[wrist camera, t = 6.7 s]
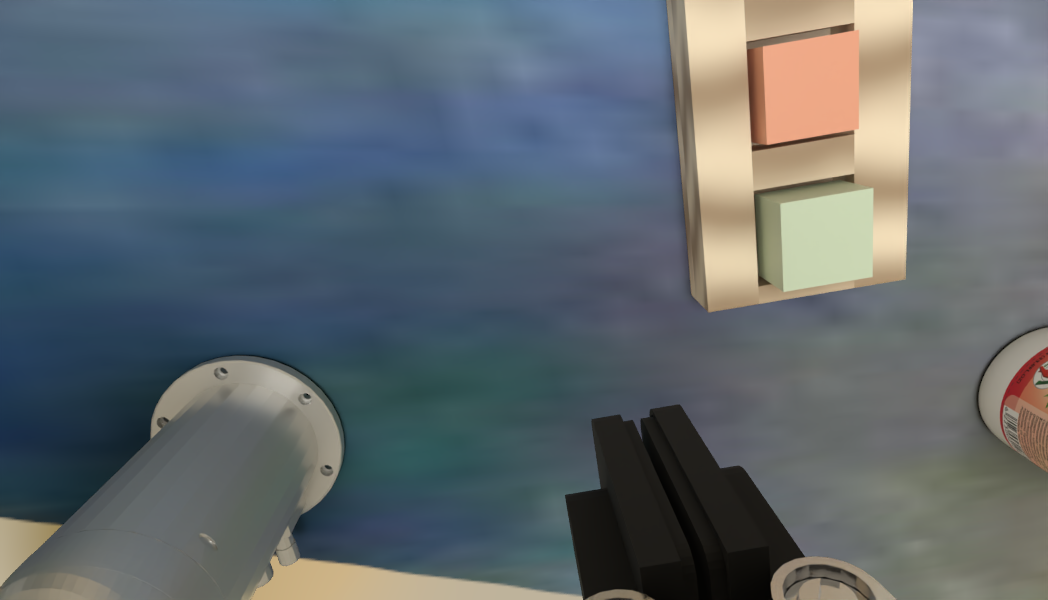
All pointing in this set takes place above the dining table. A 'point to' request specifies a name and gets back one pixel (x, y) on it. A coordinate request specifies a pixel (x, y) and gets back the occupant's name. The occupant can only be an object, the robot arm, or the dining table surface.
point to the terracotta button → (804, 88)
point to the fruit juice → (1019, 396)
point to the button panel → (751, 168)
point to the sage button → (815, 234)
